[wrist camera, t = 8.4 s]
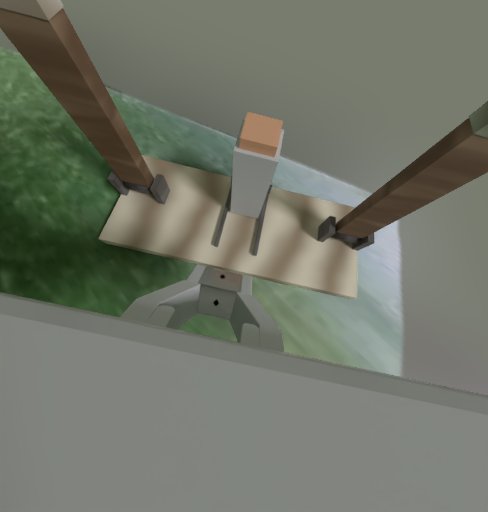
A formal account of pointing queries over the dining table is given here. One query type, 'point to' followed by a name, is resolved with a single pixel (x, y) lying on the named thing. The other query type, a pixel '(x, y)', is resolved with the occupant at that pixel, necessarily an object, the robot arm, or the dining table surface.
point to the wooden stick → (423, 179)
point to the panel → (236, 230)
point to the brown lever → (74, 83)
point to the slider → (254, 163)
